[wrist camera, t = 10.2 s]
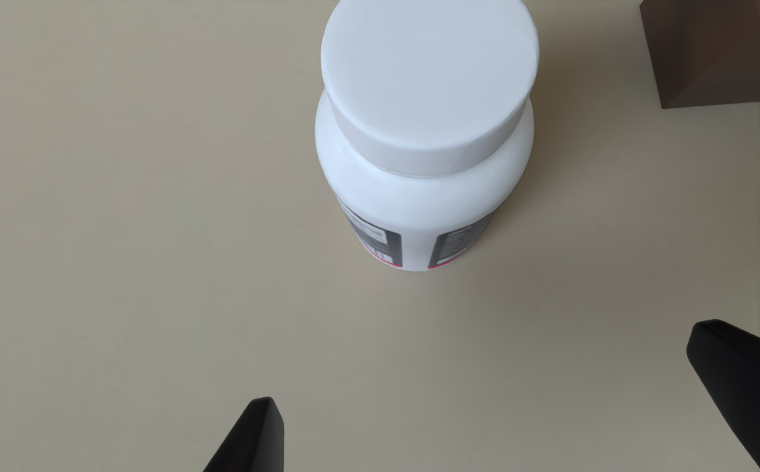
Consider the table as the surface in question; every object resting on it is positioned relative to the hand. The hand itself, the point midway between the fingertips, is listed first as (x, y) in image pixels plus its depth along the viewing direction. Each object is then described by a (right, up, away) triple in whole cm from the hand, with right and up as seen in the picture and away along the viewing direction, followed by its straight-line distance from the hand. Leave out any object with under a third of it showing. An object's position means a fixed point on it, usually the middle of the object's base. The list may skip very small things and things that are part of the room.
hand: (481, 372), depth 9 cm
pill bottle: (-1, +4, +8) cm, 9 cm away
